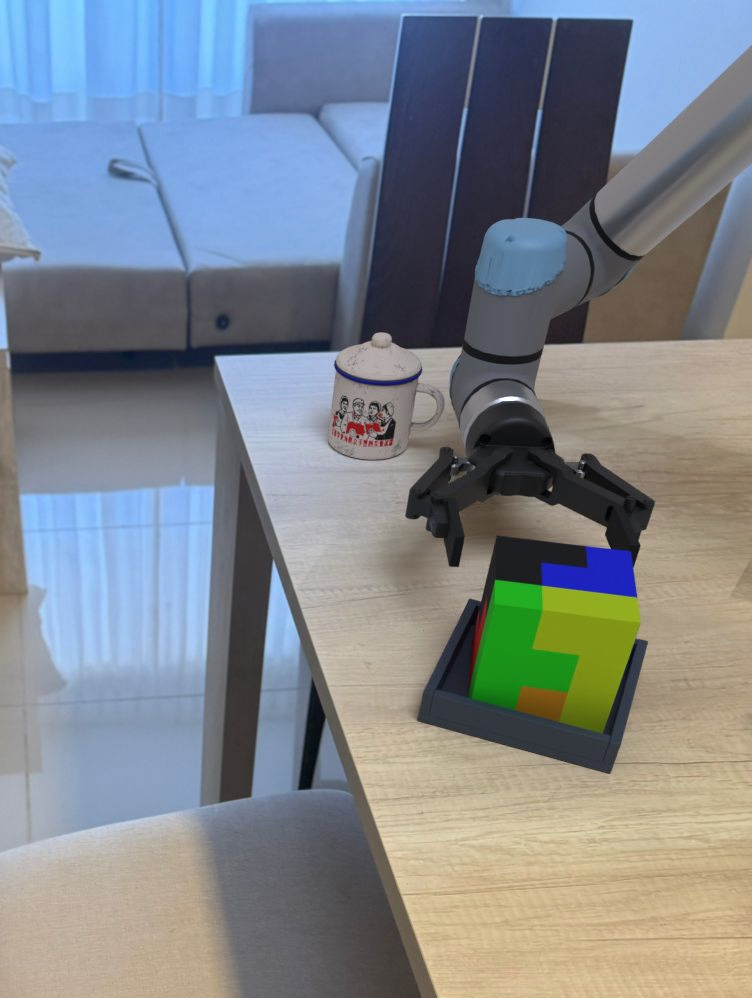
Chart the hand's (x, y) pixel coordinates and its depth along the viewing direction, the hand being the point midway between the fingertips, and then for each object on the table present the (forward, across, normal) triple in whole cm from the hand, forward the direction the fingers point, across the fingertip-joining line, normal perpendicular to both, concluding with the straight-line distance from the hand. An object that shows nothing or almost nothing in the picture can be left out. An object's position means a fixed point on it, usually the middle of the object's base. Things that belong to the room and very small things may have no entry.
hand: (543, 556), depth 91 cm
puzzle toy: (+7, 0, -8) cm, 10 cm away
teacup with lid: (-37, +10, -9) cm, 39 cm away
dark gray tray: (+7, 0, -8) cm, 11 cm away
